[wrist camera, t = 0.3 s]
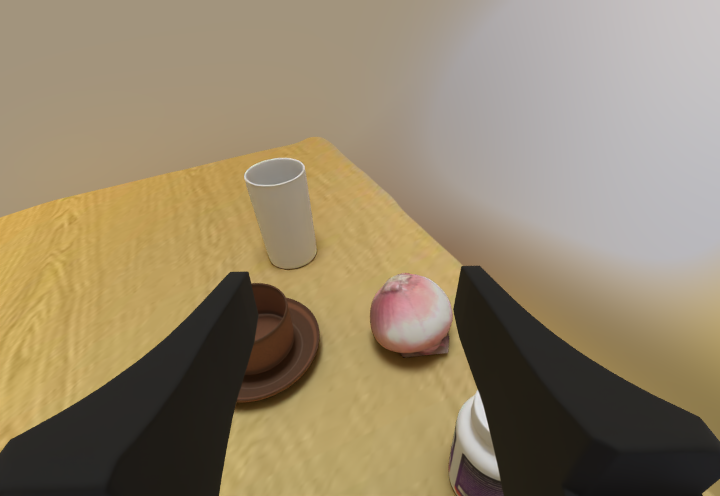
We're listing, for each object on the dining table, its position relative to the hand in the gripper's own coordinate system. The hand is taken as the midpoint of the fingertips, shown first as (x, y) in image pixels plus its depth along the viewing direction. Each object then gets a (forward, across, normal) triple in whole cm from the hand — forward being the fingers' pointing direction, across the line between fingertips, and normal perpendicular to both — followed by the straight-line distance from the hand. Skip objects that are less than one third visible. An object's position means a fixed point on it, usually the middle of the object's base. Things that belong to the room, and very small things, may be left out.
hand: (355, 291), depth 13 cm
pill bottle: (+3, -9, +21) cm, 23 cm away
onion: (+15, -6, +21) cm, 26 cm away
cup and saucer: (+15, +9, +22) cm, 28 cm away
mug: (+32, +8, +21) cm, 39 cm away
